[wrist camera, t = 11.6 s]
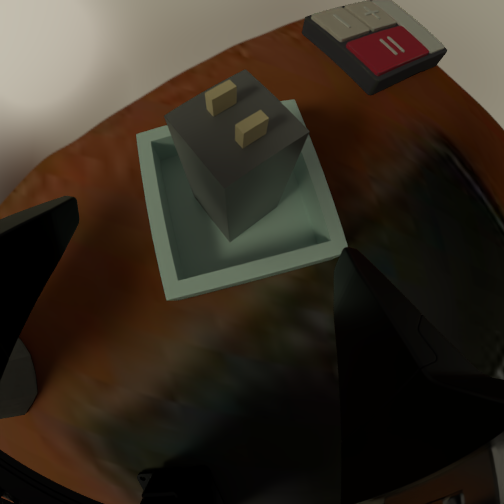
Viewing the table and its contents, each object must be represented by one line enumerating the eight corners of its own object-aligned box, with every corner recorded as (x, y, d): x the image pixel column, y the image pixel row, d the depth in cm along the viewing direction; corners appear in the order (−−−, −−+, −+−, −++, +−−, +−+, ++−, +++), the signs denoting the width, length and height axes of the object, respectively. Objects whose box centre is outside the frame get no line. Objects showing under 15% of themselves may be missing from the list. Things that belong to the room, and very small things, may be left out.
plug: (276, 207, 23) (316, 116, 11) (229, 242, 22) (223, 176, 10) (240, 164, 23) (246, 52, 11) (194, 197, 23) (158, 100, 11)
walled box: (331, 259, 23) (349, 251, 19) (178, 300, 22) (166, 300, 18) (286, 126, 25) (294, 99, 21) (149, 157, 24) (136, 134, 20)
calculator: (304, 11, 24) (388, -8, 25) (299, 38, 28) (379, 13, 29) (380, 77, 23) (451, 47, 24) (366, 101, 27) (437, 65, 28)
